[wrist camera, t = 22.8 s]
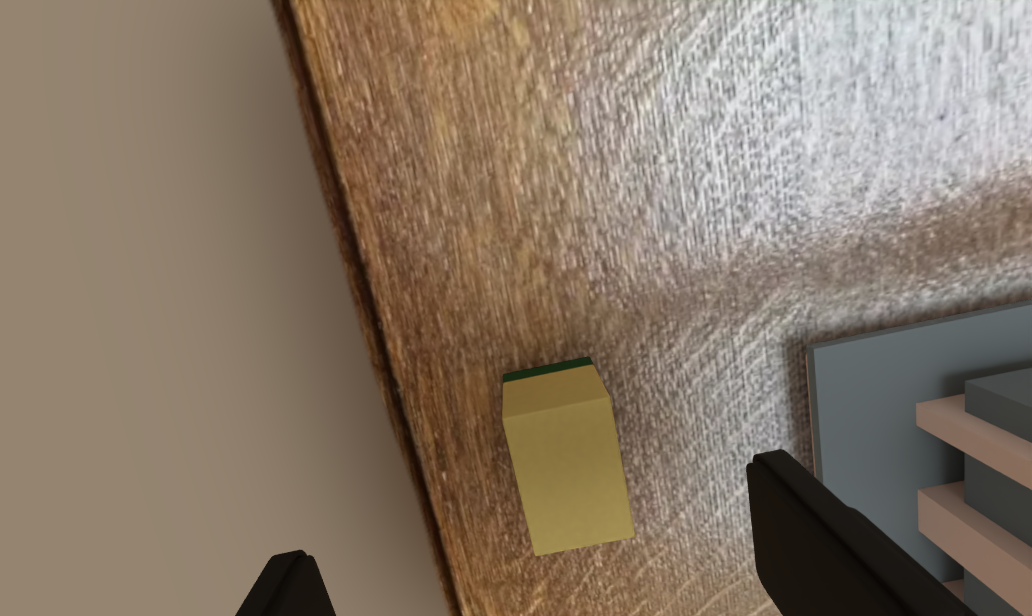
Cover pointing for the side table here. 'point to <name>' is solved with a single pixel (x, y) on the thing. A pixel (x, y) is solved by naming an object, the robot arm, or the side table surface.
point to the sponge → (566, 456)
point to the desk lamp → (936, 445)
